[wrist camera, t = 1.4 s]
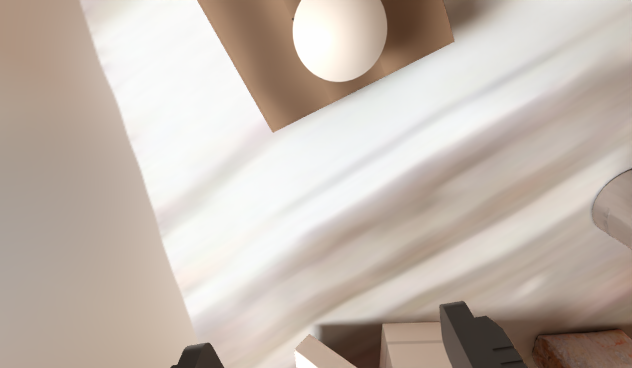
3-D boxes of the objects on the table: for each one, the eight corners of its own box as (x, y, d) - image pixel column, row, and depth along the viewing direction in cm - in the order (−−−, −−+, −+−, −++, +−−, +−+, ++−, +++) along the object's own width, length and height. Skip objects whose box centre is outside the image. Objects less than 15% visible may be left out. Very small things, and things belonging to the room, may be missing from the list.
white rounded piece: (349, -17, 24) (365, -45, 16) (375, 51, 26) (400, 55, 19) (287, 18, 25) (275, 8, 18) (317, 82, 27) (318, 97, 20)
